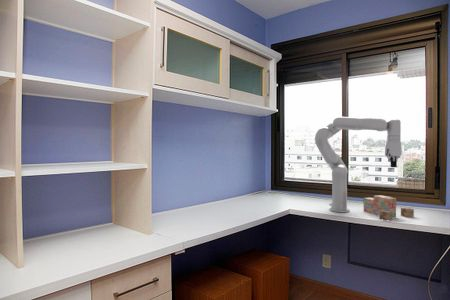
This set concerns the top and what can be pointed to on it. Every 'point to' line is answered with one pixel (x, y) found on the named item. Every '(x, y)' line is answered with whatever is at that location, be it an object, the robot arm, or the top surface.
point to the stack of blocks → (380, 204)
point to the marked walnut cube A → (386, 215)
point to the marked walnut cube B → (407, 212)
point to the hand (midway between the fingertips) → (393, 167)
